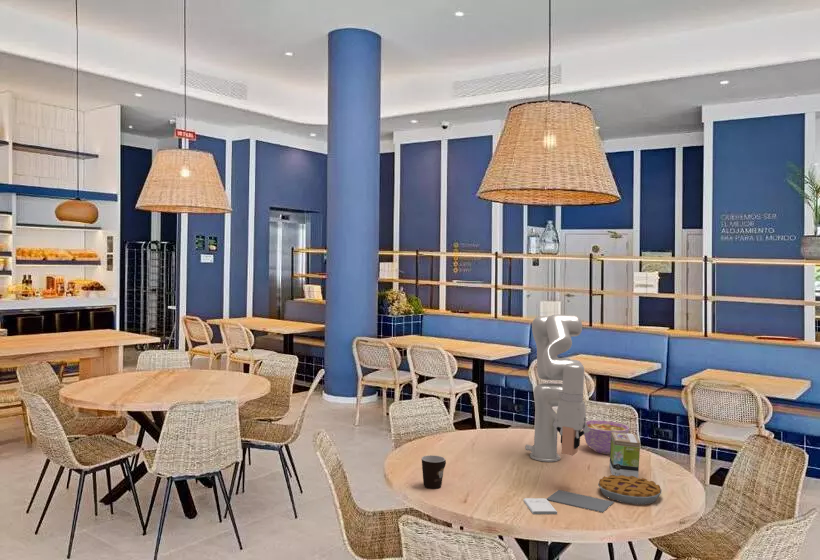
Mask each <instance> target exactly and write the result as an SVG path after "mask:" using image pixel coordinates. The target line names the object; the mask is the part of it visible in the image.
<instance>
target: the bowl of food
mask: <svg viewBox="0 0 820 560" xmlns="http://www.w3.org/2000/svg"><path fill="white" fill-rule="evenodd" d="M586 423H587V425H588V427H589V429H590V431H589V432H587V433H585V434H583V435H584V439H585V443H586V444H587V446H588V447H589V448H590V449H592V450H593V451H594V452H596V453H597V454H598V453H599V454H602V453H604V455H610V446H611V432H617V433H628V434H629V431H630V426H628V425H626V424H624V423H620V422H616V421H609V420H602V419H601V420H600V419H599V420H598V419H595V420H586ZM583 430H584V428H583V429H582V431H583Z"/></svg>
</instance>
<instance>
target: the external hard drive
mask: <svg viewBox="0 0 820 560" xmlns="http://www.w3.org/2000/svg"><path fill="white" fill-rule="evenodd" d="M523 502H524V504H525V506H526V507H527V508H528V510H529V509H530V510H529V511H530V512H531V513H532V515H558V511H557V510H556V508H554V507H555V506H553V505H552V504H551V502H550V501H549V500H547V498H543V497H542V498H541V497H538V498H534V497H527V498H526V497H525V498H523Z"/></svg>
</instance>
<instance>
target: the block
mask: <svg viewBox="0 0 820 560" xmlns="http://www.w3.org/2000/svg"><path fill="white" fill-rule="evenodd" d="M575 436H576V435H575V430H574V428H569V427H564V426H563V433H562V443H561V454H563V455H567V456H574V455H575V454H576V453H578V452H579V450H578V449H579V447H578V448H576V449H574V438H575Z"/></svg>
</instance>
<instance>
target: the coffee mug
mask: <svg viewBox="0 0 820 560" xmlns="http://www.w3.org/2000/svg"><path fill="white" fill-rule="evenodd" d="M446 464H447V462H446V458H445V457H444V456H440V455H433V454H432V455H424V456H422V457H421V466H422V467H421V469H422V480H423V482H422V483H423V487H424V488H426V489H429V490H436V489H441V488H442V485H443V484H442V483H443V477H444V469H445V467H446Z"/></svg>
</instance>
